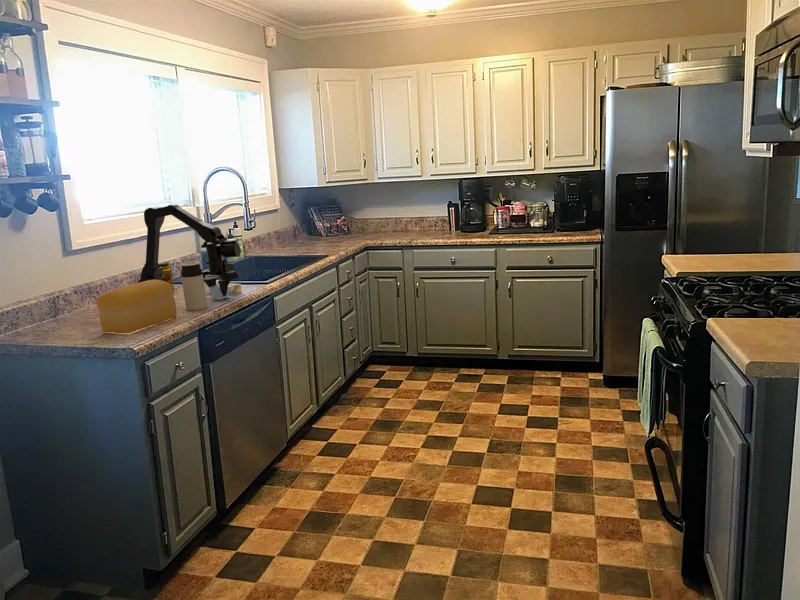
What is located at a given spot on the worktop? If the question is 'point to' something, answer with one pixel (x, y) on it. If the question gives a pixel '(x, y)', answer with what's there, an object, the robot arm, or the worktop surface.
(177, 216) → the robot arm
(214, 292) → the blue cube
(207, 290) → the cream cube
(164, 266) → the condiment
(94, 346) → the worktop surface
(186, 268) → the travel mug
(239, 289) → the birch block
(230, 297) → the tile
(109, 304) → the bread
